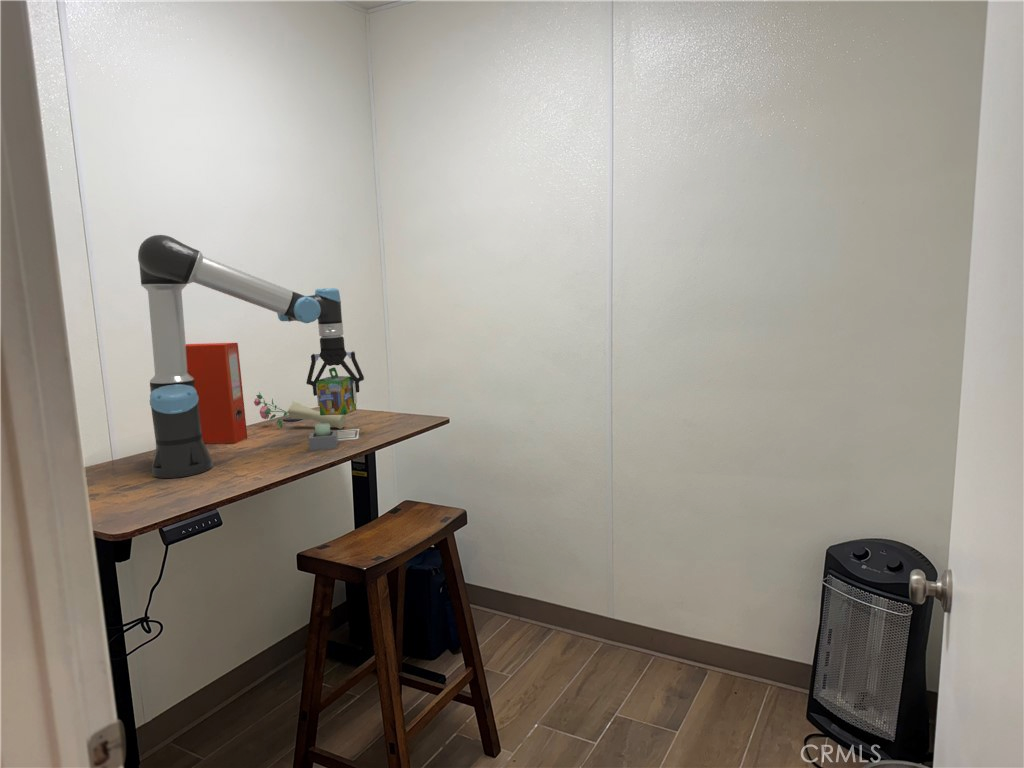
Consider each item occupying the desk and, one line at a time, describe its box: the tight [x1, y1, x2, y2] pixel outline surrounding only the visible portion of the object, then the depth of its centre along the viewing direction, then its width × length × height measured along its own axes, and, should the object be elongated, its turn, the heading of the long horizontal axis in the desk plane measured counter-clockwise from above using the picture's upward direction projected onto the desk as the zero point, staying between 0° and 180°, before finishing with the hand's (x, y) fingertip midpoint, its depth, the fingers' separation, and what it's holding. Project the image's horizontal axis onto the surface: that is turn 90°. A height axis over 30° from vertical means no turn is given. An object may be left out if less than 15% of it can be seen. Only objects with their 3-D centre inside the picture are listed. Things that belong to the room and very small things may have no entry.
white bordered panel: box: [337, 428, 360, 442], centre depth 220 cm, size 12×14×1 cm
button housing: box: [307, 429, 339, 452], centre depth 207 cm, size 8×8×4 cm
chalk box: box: [317, 367, 357, 416], centre depth 218 cm, size 9×9×15 cm
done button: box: [314, 422, 331, 437], centre depth 206 cm, size 4×4×4 cm
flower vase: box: [253, 391, 346, 430], centre depth 235 cm, size 12×12×35 cm
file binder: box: [186, 342, 248, 444], centre depth 218 cm, size 8×17×32 cm, turn 81°
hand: (337, 403), depth 219 cm, fingers closed on chalk box, 11 cm apart
